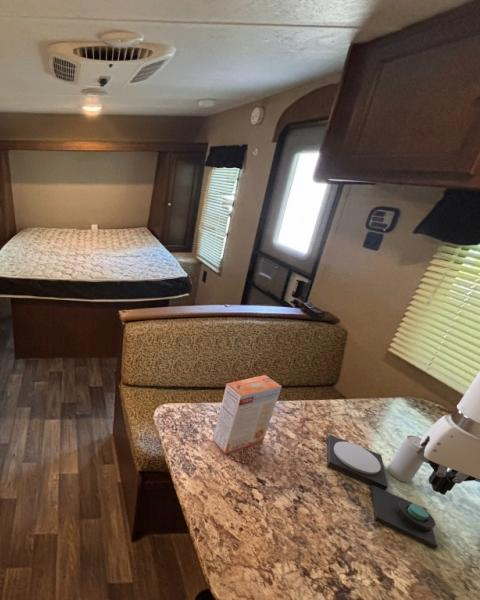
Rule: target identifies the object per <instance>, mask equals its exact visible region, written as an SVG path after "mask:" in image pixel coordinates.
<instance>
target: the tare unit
mask: <svg viewBox="0 0 480 600" xmlns="http://www.w3.org/2000/svg"><path fill="white" fill-rule="evenodd" d="M369 492H370V498H371V506H372V511H373V518H374V521H375V522H376V523H379V524H380V525H383V526H384V527H386V528H389V529H391V530H393V531H395V532H397V533H400V534H401V535H403V536H404V537H405V536H406V537H407V538H410V539H412V540H413V541H416V542H418V543H420V544H423V545H424V546H427V547H428V548H430V549H433V550H436V549H437V547H438V541H437V539H436V536H435V533H434V528H435V527H436V525H437V524H436V520H435V518H434V517H433V516H432V515H431V514H430V513H429V512H428V510H427V508H426V507H423V506H421V505H419V506H420V507H422V508H423V509H425V510H426V511H427V513H428V517H427V519H426V520H425V521H419V520H417V519H415V518H414V517H413V516H411V515H410V514H409V513H408V510H407V509H408V508H409V506H410V505H411V504H416V505H418V504H417V503H414V502H412V501H410V500H407V499H405V498H403V497H401V496H398V495H396V494H394V493H392V492H390V491H387V490H386V491H385V490H382V489H380V488H378V487H376V486H373V485H372V486H370V488H369Z"/></svg>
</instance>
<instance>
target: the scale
mask: <svg viewBox="0 0 480 600" xmlns="http://www.w3.org/2000/svg"><path fill="white" fill-rule="evenodd" d="M383 461H384V460H383V457H382V454H380V453H378V452H375V451H372V450H370V449H368V448H365V447H362V446H360V445H358V444H356V443H354V442H353V443H352V442H350V441H347V440H345V439H342V438H340V437H337V436H334V435H332V434H328V436H327V438H326V467H327V468H329V469H330V470H331V469H332V470H334V471H336V472H338V473H341V474H343V475H345V476H347V477H349V478H352V479H354V480H357V481H358V482H361V483H362V484H365V485H368V486H370V487H371V486H372V485H373V486H376V487H378V488H380V489H382V490H385V491H387V489H388V488H389V486H388V482H387V477H386V471H385V467H384V462H383Z"/></svg>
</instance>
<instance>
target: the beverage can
mask: <svg viewBox="0 0 480 600" xmlns="http://www.w3.org/2000/svg"><path fill="white" fill-rule="evenodd" d="M421 440H422V438H420V437H419V436H417V435H412V434H411V435H407V436H406V437H404V439H403V440H402V442H401V444H400V446H399V447H398V449H397V451H396V452H395V454H394V456H393V457H392V459H391V460H390V462H389V464H388V466H387V467H386V469H387V472H388V473H389V475H390V476H391V477H393V478H394V479H395V480H397V481H399V482H401V483H402V482H403V483H410V482H412V480H413V479H414V477H415V476H416V474H417V473H418V471H419V469H420V468H421V467H422V465H423V464H424V463H425V462H424V461H422V460H420V459H418V458H417V456H416V452H417V451H418V450H419V449H421V448H422V447H421V446H420V441H421Z"/></svg>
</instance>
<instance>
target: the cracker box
mask: <svg viewBox="0 0 480 600" xmlns="http://www.w3.org/2000/svg"><path fill="white" fill-rule="evenodd" d="M282 387H283V386H282V385H281V384H279V383H278V382H276V381H274V380H273V379H272V378H270V377H269V376H267V375H266V374H263V375H259V376H254V377H250V378H246V379H242V380H237V381H232V382H228V383H226V384H225V388H224V392H223V397H222V400H221V403H220V408H219V412H218V416H217V420H216V424H215V427H214V431H213V435H212V441H213V442H214V443H215V444H216V445H217V446H218V448H219V449H220V450H221V451H222V452H223V453H224V455H227V454H231V453H234V452H238V451H240V450H243V449H247V448H250V447H253V446H256V445H259V444H262V443H263V442H264V440H265V436H266V434H267V430H268V428H269V425H270V422H271V419H272V417H273V413H274V410H275V408H276V405H277V402H278V399H279V396H280V393H281V390H282Z"/></svg>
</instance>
